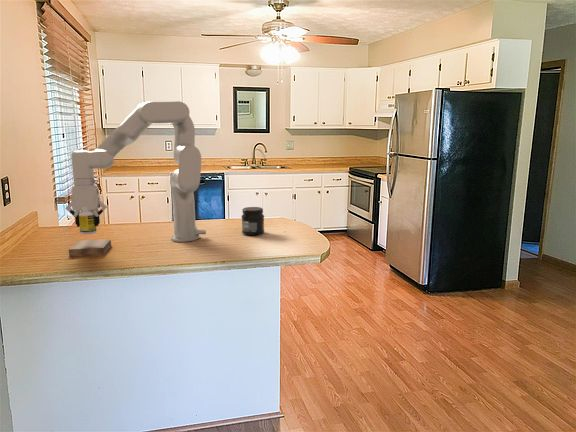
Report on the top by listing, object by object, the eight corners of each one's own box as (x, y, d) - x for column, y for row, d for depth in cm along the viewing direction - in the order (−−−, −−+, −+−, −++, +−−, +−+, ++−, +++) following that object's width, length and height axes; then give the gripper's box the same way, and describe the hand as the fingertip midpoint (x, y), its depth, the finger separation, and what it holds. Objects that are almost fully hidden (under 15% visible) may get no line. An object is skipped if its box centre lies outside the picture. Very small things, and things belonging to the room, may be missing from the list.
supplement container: (264, 230, 218) (264, 206, 216) (264, 236, 208) (263, 210, 205) (242, 231, 218) (242, 206, 215) (241, 236, 208) (240, 211, 205)
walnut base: (111, 246, 193) (110, 239, 192) (103, 255, 180) (103, 247, 180) (79, 247, 191) (78, 240, 190) (69, 256, 179) (68, 249, 178)
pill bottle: (90, 235, 180) (88, 208, 178) (76, 234, 182) (74, 207, 179) (99, 231, 186) (97, 205, 184) (86, 230, 188) (84, 204, 185)
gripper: (109, 180, 185) (112, 223, 188) (64, 181, 182) (68, 224, 186) (104, 183, 177) (108, 227, 181) (57, 183, 175) (62, 228, 178)
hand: (87, 225), depth 183 cm, fingers closed on pill bottle, 6 cm apart
